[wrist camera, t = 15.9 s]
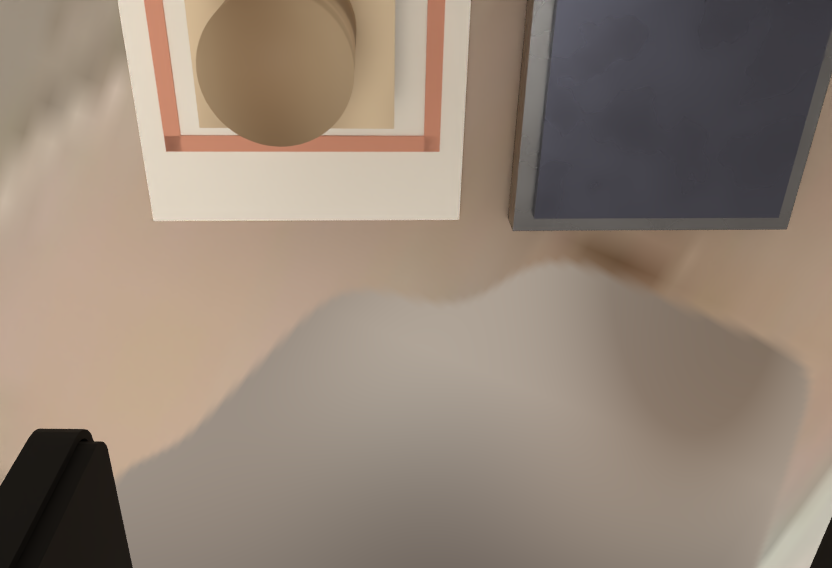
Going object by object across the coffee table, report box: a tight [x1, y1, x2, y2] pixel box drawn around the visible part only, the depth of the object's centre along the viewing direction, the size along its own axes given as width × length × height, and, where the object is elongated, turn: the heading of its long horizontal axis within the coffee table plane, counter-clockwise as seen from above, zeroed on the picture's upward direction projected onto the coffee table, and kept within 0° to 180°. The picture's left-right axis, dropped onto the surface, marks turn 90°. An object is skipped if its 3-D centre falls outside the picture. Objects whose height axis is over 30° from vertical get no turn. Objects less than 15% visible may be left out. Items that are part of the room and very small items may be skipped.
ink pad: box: [508, 0, 832, 231], centre depth 29 cm, size 11×10×2 cm
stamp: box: [184, 0, 395, 147], centre depth 23 cm, size 6×6×8 cm
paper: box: [118, 0, 471, 221], centre depth 27 cm, size 12×16×1 cm
